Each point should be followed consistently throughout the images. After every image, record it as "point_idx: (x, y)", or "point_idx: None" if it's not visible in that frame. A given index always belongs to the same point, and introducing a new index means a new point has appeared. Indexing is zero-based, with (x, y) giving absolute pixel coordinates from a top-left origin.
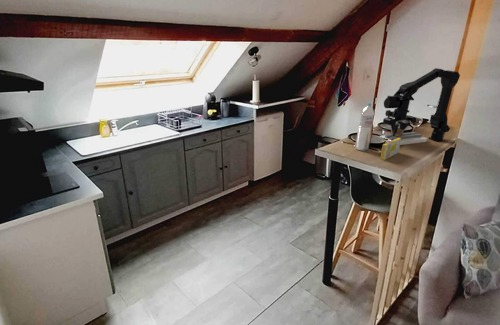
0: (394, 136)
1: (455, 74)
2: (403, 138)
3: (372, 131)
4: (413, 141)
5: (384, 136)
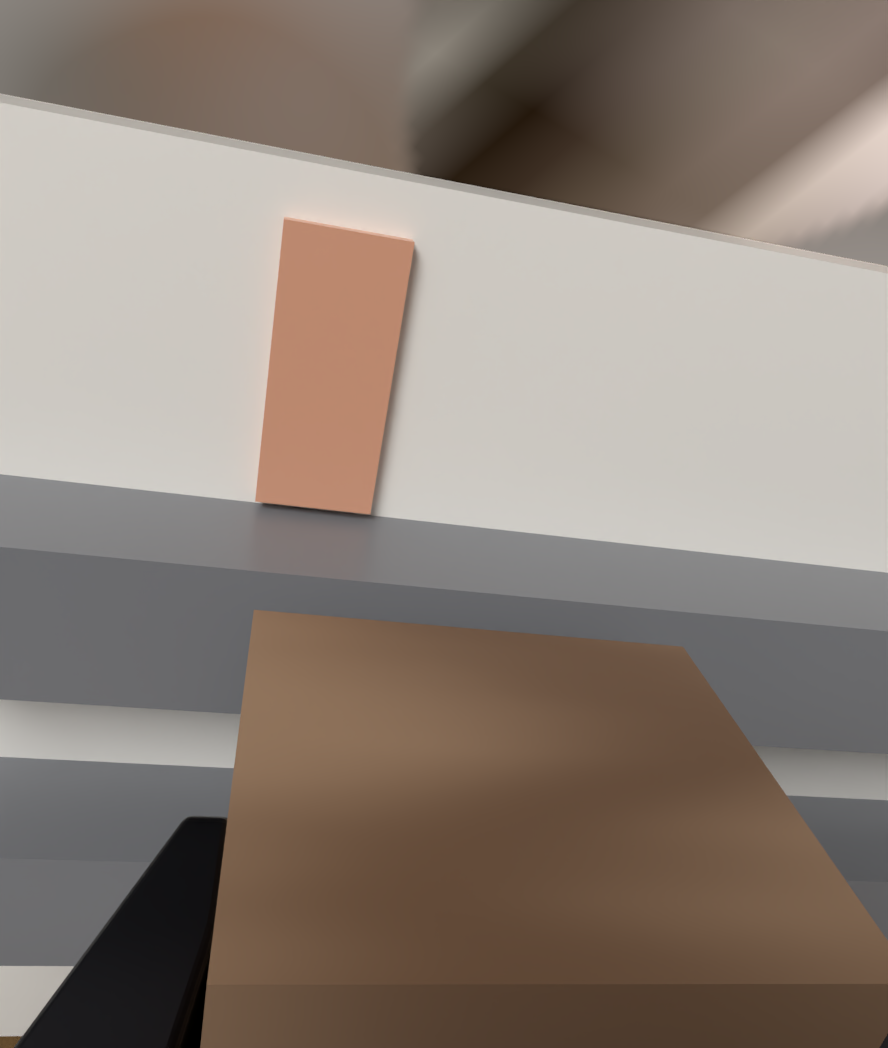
0: None
1: None
2: None
3: None
4: None
5: (16, 318)
